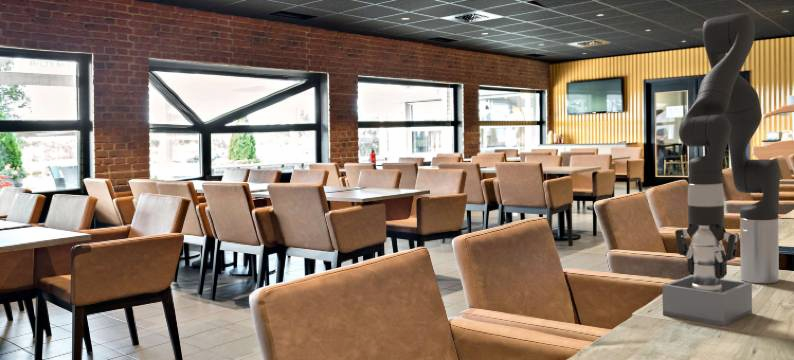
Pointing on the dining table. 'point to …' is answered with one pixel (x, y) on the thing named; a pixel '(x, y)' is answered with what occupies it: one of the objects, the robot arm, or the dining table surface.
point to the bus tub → (707, 301)
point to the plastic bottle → (705, 260)
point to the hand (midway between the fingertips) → (706, 275)
